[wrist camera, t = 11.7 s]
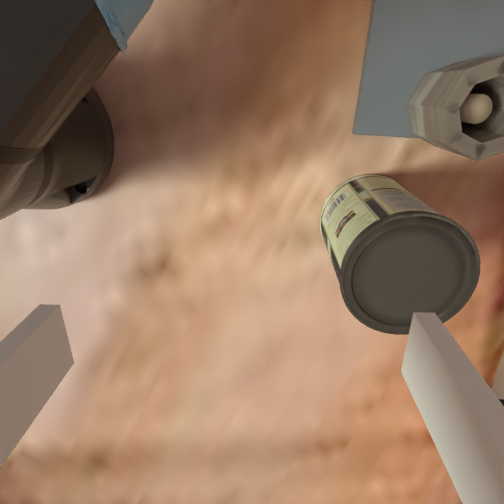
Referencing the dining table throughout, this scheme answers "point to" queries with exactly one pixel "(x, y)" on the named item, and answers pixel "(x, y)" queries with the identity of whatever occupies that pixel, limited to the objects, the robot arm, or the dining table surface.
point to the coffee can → (396, 254)
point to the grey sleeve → (449, 101)
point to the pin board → (422, 56)
